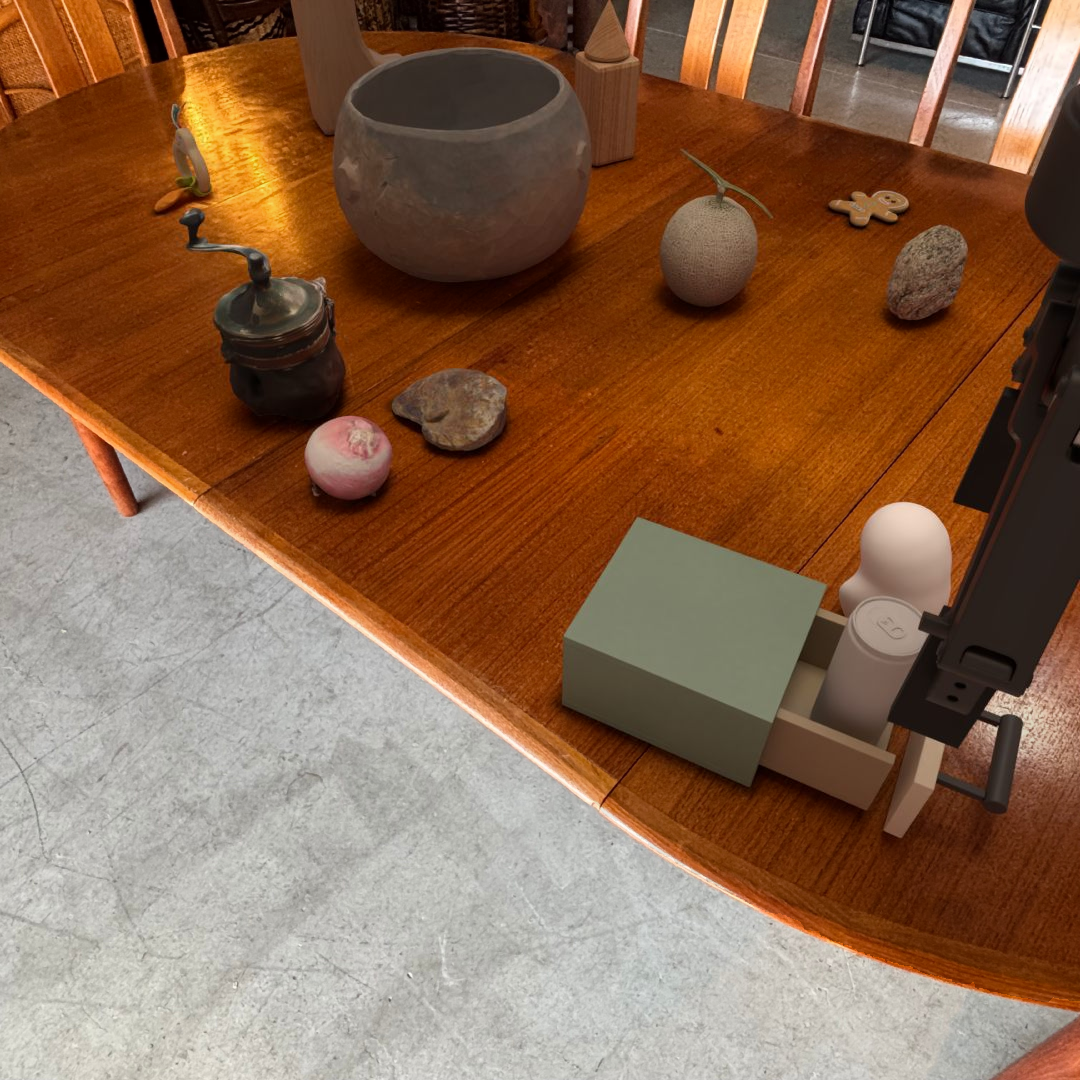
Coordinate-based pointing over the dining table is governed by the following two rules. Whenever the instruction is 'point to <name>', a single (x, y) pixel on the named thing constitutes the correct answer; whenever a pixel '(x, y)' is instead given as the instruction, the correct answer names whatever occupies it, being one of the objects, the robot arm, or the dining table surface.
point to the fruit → (710, 246)
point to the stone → (927, 273)
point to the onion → (348, 458)
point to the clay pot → (462, 162)
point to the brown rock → (455, 408)
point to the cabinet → (689, 647)
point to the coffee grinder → (276, 336)
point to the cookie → (871, 207)
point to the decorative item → (608, 90)
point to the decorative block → (331, 55)
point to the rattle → (186, 165)
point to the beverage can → (869, 668)
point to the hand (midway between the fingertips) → (955, 606)
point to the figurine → (902, 560)
